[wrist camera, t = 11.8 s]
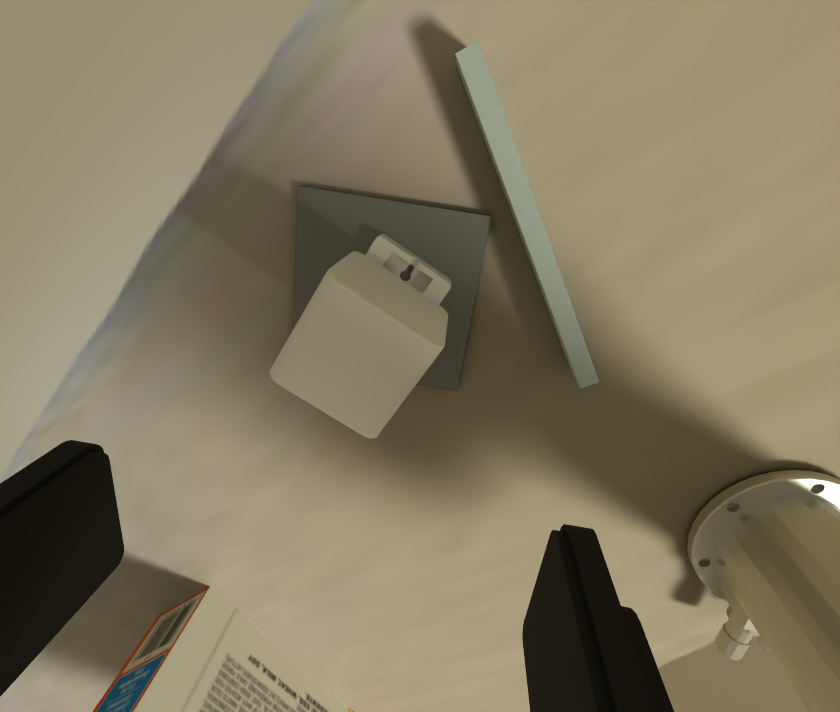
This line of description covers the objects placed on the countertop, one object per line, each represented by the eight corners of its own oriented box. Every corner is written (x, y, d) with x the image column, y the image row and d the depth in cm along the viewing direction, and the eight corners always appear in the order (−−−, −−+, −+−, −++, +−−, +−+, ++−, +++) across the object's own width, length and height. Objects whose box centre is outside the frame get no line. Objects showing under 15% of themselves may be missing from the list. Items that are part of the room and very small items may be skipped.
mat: (457, 387, 33) (457, 390, 32) (294, 359, 33) (291, 362, 33) (490, 215, 28) (491, 216, 28) (301, 185, 29) (297, 186, 28)
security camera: (323, 315, 31) (262, 377, 22) (375, 227, 29) (332, 255, 19) (400, 365, 32) (374, 444, 23) (458, 284, 29) (455, 337, 20)
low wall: (587, 363, 31) (599, 382, 28) (570, 369, 32) (580, 388, 29) (476, 54, 25) (477, 40, 22) (456, 65, 25) (455, 53, 23)
